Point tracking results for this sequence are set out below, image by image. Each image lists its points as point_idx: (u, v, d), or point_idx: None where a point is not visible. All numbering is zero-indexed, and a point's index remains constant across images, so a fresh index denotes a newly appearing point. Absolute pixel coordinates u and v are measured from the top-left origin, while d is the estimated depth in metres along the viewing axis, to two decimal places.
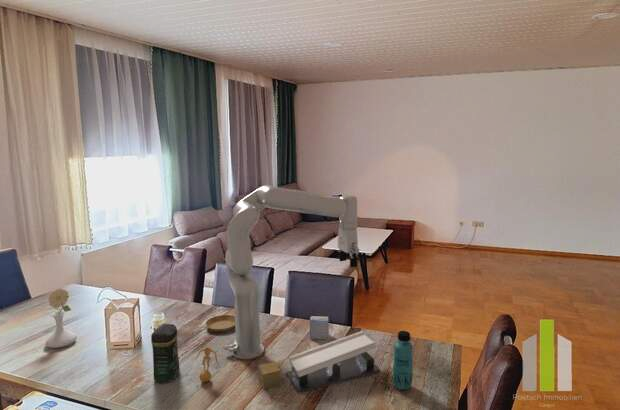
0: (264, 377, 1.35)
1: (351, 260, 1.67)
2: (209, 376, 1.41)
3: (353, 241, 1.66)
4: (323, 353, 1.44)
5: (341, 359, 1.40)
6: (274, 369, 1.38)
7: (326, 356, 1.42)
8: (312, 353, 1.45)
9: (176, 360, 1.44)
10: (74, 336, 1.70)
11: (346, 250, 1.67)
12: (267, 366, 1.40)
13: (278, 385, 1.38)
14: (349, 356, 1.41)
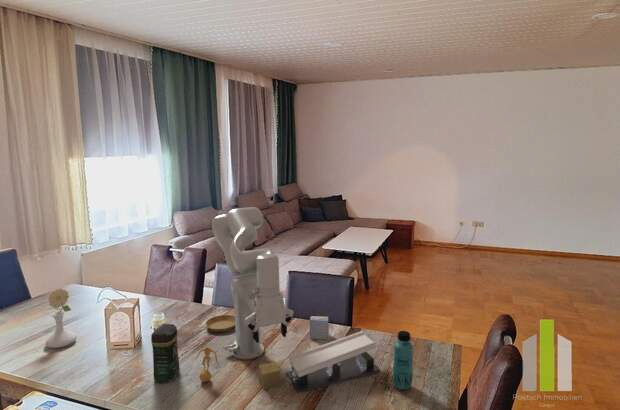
0: (264, 377, 1.35)
1: None
2: (209, 376, 1.41)
3: None
4: (323, 353, 1.44)
5: (341, 359, 1.40)
6: (274, 369, 1.38)
7: (326, 356, 1.42)
8: (312, 353, 1.45)
9: (176, 360, 1.44)
10: (74, 336, 1.70)
11: (282, 319, 1.35)
12: (267, 366, 1.40)
13: (278, 385, 1.38)
14: (349, 356, 1.41)
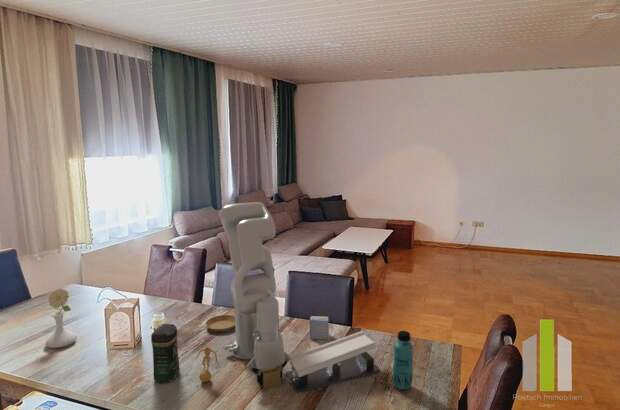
0: (264, 377, 1.35)
1: (280, 373, 1.40)
2: (209, 376, 1.41)
3: None
4: (323, 353, 1.44)
5: (341, 359, 1.40)
6: (274, 369, 1.38)
7: (326, 356, 1.42)
8: (312, 353, 1.45)
9: (176, 360, 1.44)
10: (74, 336, 1.70)
11: (281, 362, 1.37)
12: None
13: (278, 385, 1.38)
14: (349, 356, 1.41)
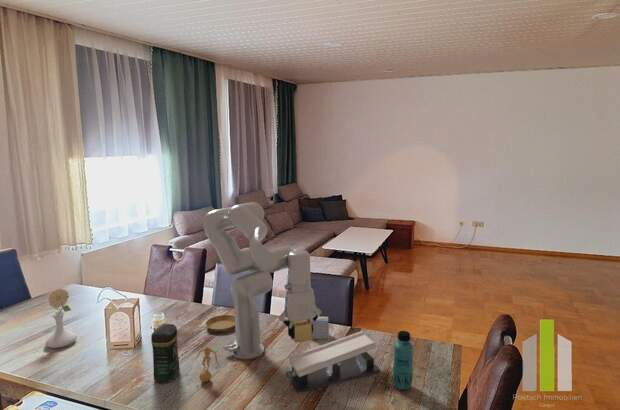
0: (296, 329, 1.36)
1: (311, 326, 1.40)
2: (209, 376, 1.41)
3: None
4: (323, 353, 1.44)
5: (341, 359, 1.40)
6: (305, 322, 1.39)
7: (326, 356, 1.42)
8: (312, 353, 1.45)
9: (176, 360, 1.44)
10: (74, 336, 1.70)
11: (312, 315, 1.38)
12: None
13: (309, 338, 1.38)
14: (349, 356, 1.41)
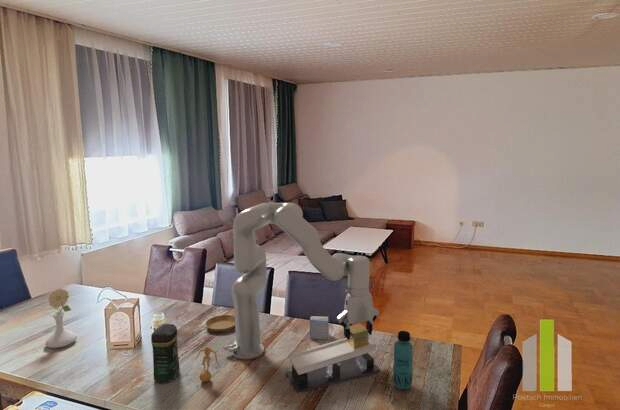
0: (354, 337, 1.43)
1: None
2: (209, 376, 1.41)
3: None
4: (323, 352, 1.44)
5: (341, 359, 1.40)
6: (362, 329, 1.46)
7: (326, 355, 1.42)
8: (312, 352, 1.45)
9: (176, 360, 1.44)
10: (74, 336, 1.70)
11: (370, 317, 1.45)
12: (354, 327, 1.48)
13: (366, 344, 1.46)
14: (349, 357, 1.41)
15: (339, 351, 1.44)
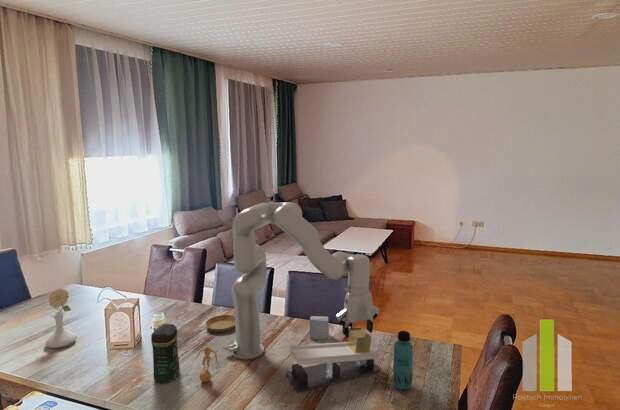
0: (357, 341, 1.44)
1: None
2: (209, 376, 1.41)
3: None
4: (324, 350, 1.44)
5: (341, 360, 1.40)
6: (366, 335, 1.47)
7: (327, 353, 1.42)
8: (313, 348, 1.45)
9: (176, 360, 1.44)
10: (74, 336, 1.70)
11: (370, 316, 1.45)
12: (358, 332, 1.49)
13: (367, 351, 1.46)
14: (349, 359, 1.42)
15: (340, 352, 1.44)
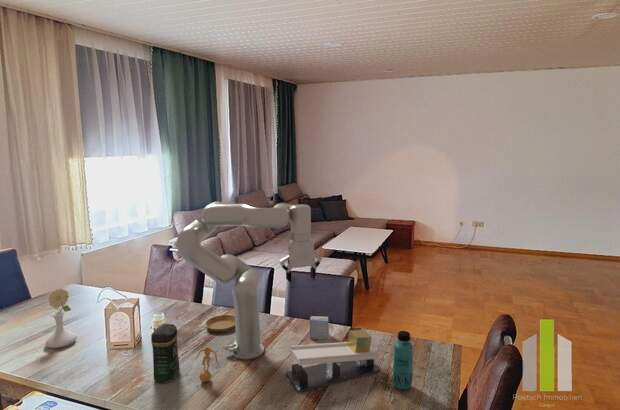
0: (357, 341, 1.44)
1: (314, 271, 1.56)
2: (209, 376, 1.41)
3: None
4: (324, 350, 1.44)
5: (341, 360, 1.40)
6: (366, 335, 1.47)
7: (327, 353, 1.42)
8: (313, 348, 1.45)
9: (176, 360, 1.44)
10: (74, 336, 1.70)
11: (312, 262, 1.54)
12: (358, 332, 1.49)
13: (367, 351, 1.46)
14: (349, 359, 1.42)
15: (340, 352, 1.44)
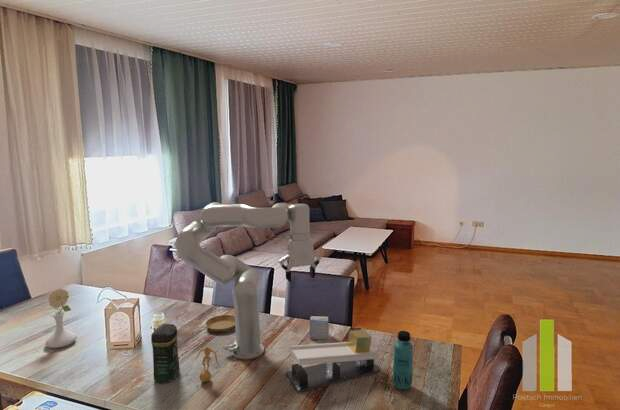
0: (357, 341, 1.44)
1: (314, 270, 1.57)
2: (209, 376, 1.41)
3: None
4: (324, 350, 1.44)
5: (341, 360, 1.40)
6: (366, 335, 1.47)
7: (327, 353, 1.42)
8: (313, 348, 1.45)
9: (176, 360, 1.44)
10: (74, 336, 1.70)
11: (311, 261, 1.54)
12: (358, 332, 1.49)
13: (367, 351, 1.46)
14: (349, 359, 1.42)
15: (340, 352, 1.44)
